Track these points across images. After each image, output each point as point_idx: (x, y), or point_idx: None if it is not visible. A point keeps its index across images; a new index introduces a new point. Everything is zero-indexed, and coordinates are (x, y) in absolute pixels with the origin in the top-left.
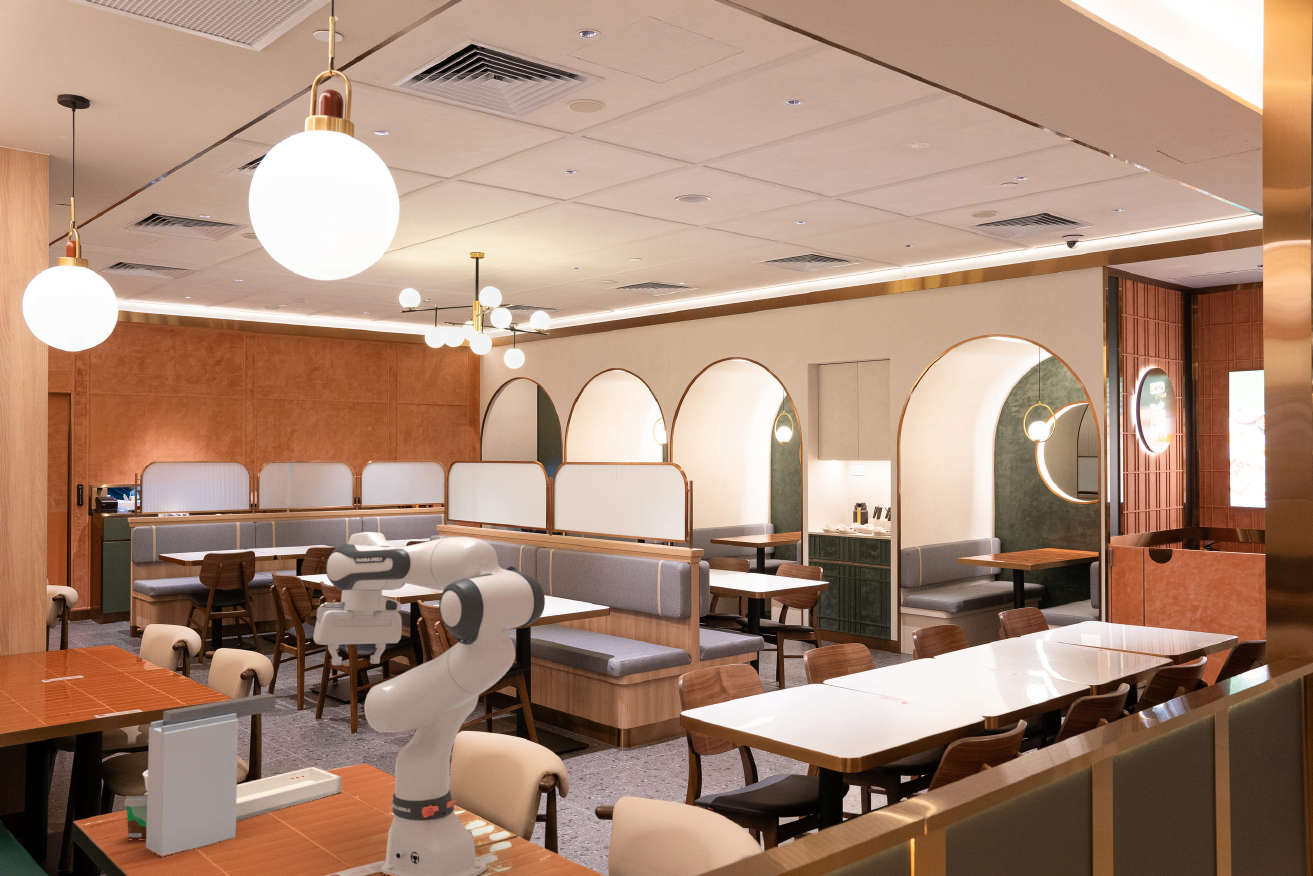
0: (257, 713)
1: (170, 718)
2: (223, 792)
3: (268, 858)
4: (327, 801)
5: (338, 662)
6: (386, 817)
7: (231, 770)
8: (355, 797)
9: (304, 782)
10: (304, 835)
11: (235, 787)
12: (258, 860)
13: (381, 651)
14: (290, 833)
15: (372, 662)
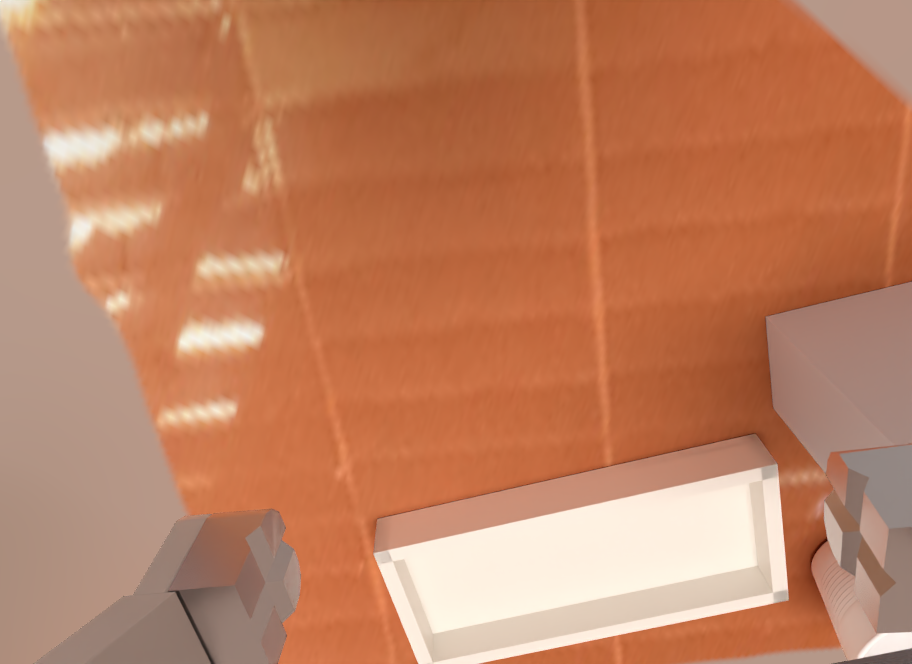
0: (891, 654)
1: None
2: (890, 378)
3: (764, 68)
4: (434, 473)
5: (906, 462)
6: (308, 237)
7: (905, 426)
8: (349, 465)
9: (455, 623)
10: (593, 218)
11: (847, 393)
12: (795, 69)
13: (75, 657)
14: (622, 261)
15: (281, 537)
